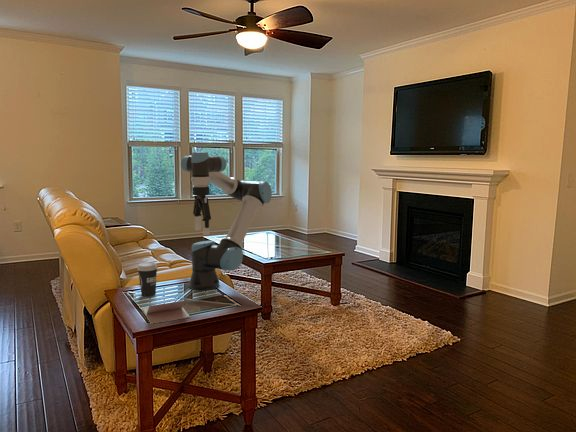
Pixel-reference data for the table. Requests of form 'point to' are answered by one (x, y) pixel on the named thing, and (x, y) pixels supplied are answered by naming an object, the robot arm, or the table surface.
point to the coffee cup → (147, 278)
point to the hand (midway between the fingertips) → (202, 232)
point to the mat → (162, 321)
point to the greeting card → (166, 312)
